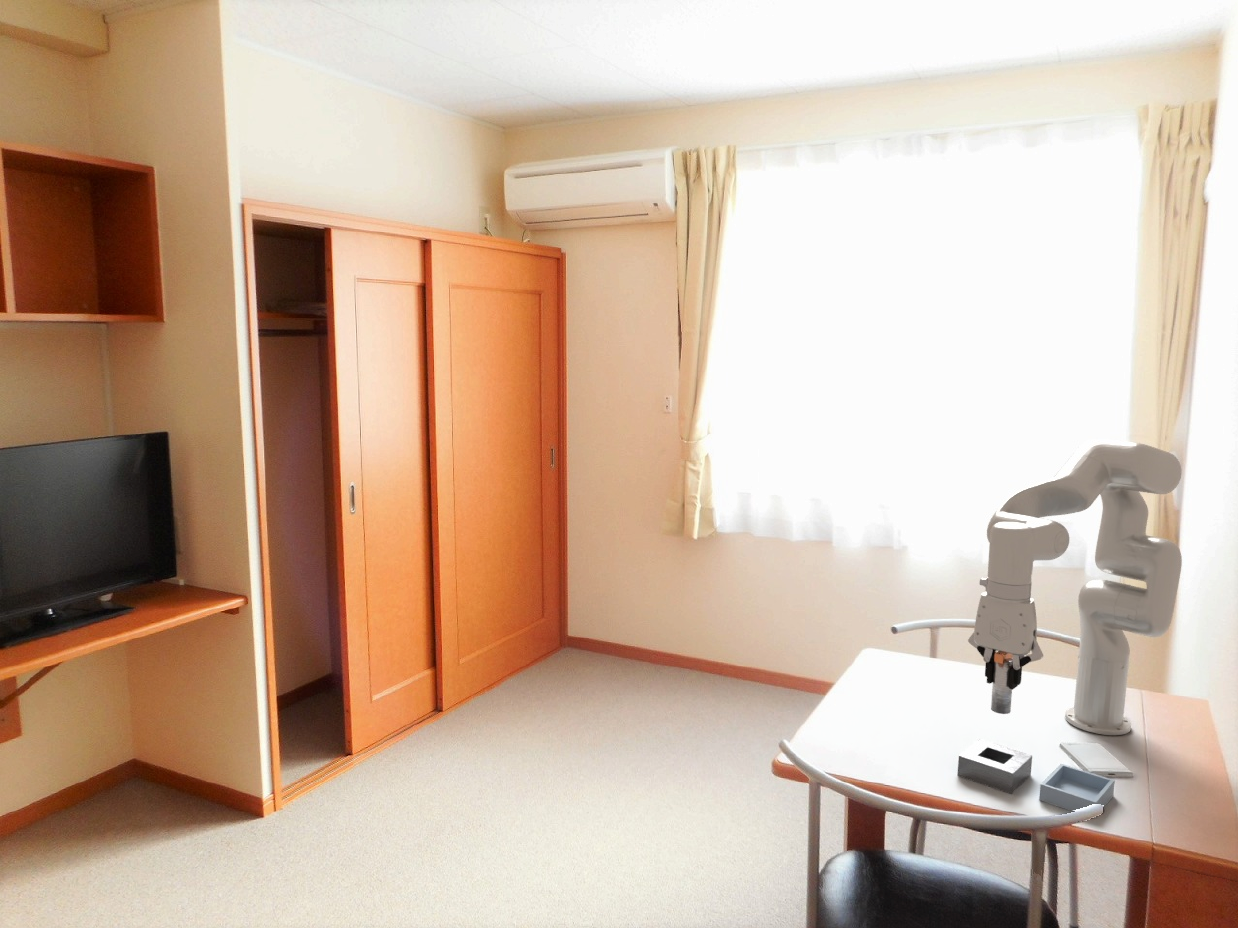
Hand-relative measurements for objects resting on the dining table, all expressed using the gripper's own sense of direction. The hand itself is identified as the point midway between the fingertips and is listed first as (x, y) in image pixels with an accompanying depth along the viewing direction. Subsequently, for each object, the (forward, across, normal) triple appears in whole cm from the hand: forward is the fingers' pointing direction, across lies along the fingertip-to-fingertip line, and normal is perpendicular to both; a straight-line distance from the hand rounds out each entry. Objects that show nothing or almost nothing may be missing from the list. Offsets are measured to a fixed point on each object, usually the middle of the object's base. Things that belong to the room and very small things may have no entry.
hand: (1002, 683), depth 170 cm
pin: (+5, 0, 0) cm, 5 cm away
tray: (+18, +14, +1) cm, 23 cm away
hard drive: (+19, +12, +20) cm, 30 cm away
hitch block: (+18, 0, -1) cm, 18 cm away
